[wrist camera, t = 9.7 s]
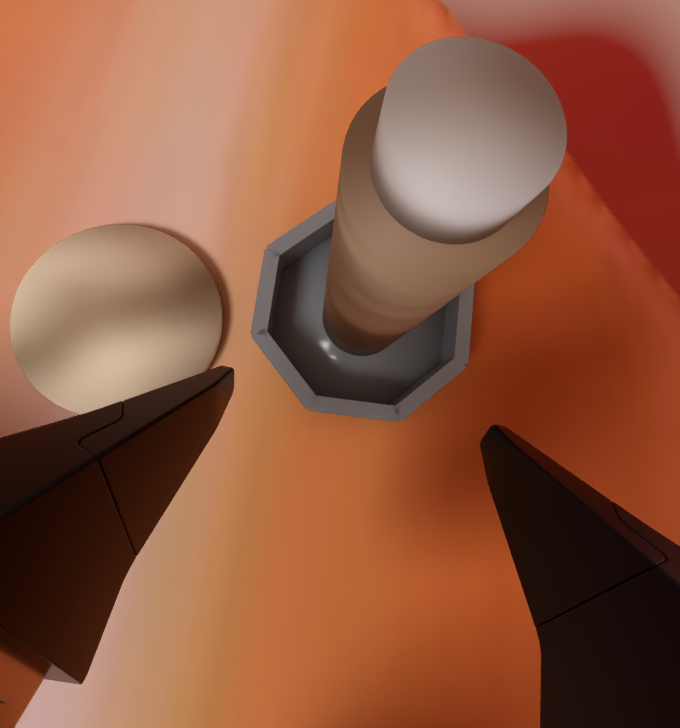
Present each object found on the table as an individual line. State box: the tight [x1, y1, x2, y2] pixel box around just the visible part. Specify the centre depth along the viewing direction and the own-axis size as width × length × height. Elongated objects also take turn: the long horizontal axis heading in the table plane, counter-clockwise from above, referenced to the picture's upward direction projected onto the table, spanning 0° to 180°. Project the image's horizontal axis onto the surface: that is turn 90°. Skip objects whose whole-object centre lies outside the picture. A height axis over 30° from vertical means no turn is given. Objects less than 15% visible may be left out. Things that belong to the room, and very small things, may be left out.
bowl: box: [251, 201, 475, 422], centre depth 18 cm, size 12×12×2 cm
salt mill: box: [322, 37, 567, 356], centre depth 12 cm, size 5×5×13 cm
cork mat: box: [10, 224, 223, 414], centre depth 18 cm, size 11×11×1 cm
